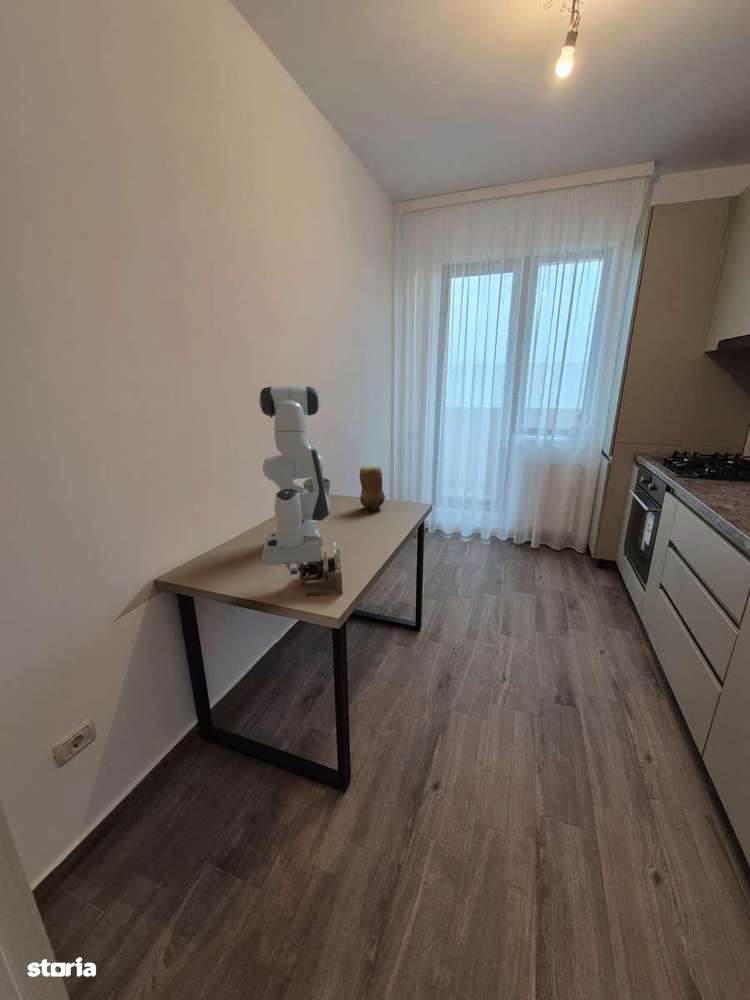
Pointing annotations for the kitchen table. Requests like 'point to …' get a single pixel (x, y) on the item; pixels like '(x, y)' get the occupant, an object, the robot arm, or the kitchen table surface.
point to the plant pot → (309, 485)
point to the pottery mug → (310, 572)
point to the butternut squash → (371, 487)
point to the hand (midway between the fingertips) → (294, 573)
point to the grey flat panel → (326, 567)
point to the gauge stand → (327, 585)
